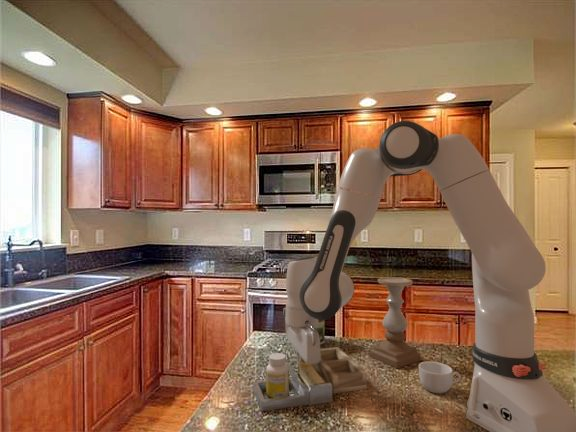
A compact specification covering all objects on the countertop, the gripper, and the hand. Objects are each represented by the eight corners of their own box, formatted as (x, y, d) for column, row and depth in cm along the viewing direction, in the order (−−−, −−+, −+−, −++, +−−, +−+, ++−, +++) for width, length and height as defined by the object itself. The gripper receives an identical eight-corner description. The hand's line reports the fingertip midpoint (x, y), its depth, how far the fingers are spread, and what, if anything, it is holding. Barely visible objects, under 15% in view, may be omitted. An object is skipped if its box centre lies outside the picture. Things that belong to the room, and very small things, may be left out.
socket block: (332, 401, 82) (332, 384, 82) (261, 412, 78) (261, 394, 78) (304, 365, 102) (304, 351, 102) (246, 372, 97) (246, 358, 97)
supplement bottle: (276, 389, 88) (276, 350, 88) (293, 396, 85) (293, 355, 85) (261, 397, 84) (261, 356, 84) (278, 405, 81) (278, 362, 81)
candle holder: (368, 356, 109) (368, 278, 109) (392, 348, 115) (392, 275, 115) (397, 369, 100) (397, 284, 100) (421, 360, 106) (421, 280, 106)
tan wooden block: (325, 399, 83) (325, 379, 83) (313, 401, 82) (313, 380, 82) (308, 377, 95) (308, 359, 95) (297, 378, 94) (297, 360, 94)
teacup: (424, 396, 85) (424, 373, 85) (414, 381, 93) (414, 360, 93) (467, 398, 84) (467, 375, 84) (454, 382, 92) (454, 362, 92)
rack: (366, 388, 88) (366, 372, 89) (333, 393, 86) (333, 377, 86) (337, 360, 106) (337, 347, 106) (309, 363, 103) (309, 350, 103)
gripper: (327, 327, 87) (326, 383, 87) (302, 306, 107) (301, 352, 107) (302, 329, 85) (302, 386, 85) (281, 307, 105) (281, 354, 105)
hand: (301, 367), depth 96 cm, fingers closed
